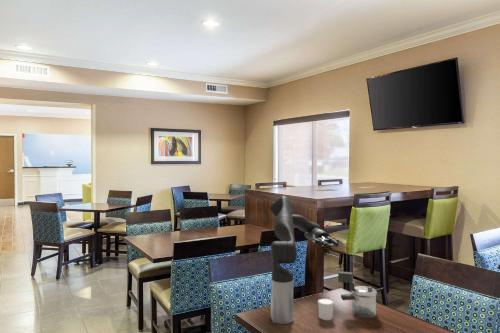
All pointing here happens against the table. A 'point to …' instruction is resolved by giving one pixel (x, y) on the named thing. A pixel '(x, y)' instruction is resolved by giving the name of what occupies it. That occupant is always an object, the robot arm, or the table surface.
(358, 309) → the pot
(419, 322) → the table surface
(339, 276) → the lid
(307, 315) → the table surface
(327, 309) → the white cylinder
